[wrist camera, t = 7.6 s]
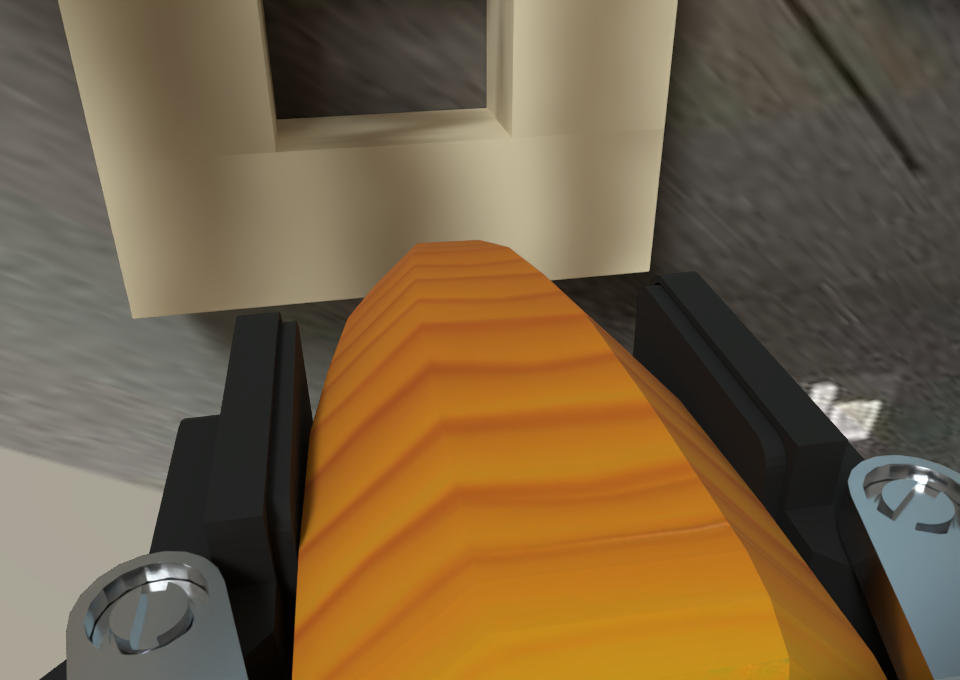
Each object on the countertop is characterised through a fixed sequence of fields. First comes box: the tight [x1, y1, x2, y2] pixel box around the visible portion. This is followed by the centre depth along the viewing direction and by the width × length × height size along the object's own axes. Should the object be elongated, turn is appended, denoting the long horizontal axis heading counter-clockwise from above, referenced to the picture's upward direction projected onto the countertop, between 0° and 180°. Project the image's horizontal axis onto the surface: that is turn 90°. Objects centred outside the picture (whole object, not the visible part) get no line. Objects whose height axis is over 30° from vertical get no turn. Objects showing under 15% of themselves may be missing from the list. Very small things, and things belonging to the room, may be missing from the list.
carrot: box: [292, 240, 887, 680], centre depth 9 cm, size 5×5×15 cm
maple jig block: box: [58, 0, 678, 319], centre depth 26 cm, size 18×18×4 cm
